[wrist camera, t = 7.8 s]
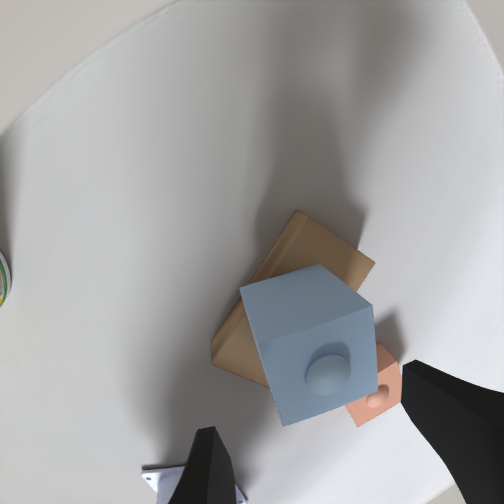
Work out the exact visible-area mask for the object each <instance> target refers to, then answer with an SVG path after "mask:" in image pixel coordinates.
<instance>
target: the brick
mask: <svg viewBox="0 0 504 504" xmlns="http://www.w3.org/2000/svg"><path fill="white" fill-rule="evenodd" d="M376 354H377V374H378V391H377V392H374V393H372V394H370V395H367V396H365V397H363V398H360V399H358V400H356V401H353V402H351V403H348V404H346V405H345V406H346V408H347V410H348V412H349V413H350V415H351V417H352V418H353V420H354V422H355V424H356V425H357V427H359V426H361V425H363V424H364V423H366V422H368V421H370V420H371V419H373V418H375V417H376V416H378V415H380V414H381V413H383V412H385V411H386V410H388V409H389V408H391V407H393V406H394V405H396V404H397V403H399V402H400V401H401V390H402V377H401V374H400V370H399V366H398V363H397V361H396V359H395V358H394V357H393V356H392V355H391V354H390V353H389V352H388V351H387V350H386V349H385V348H384V347H383V346H382V345H381V344H380V343H377V344H376Z"/></svg>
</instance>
